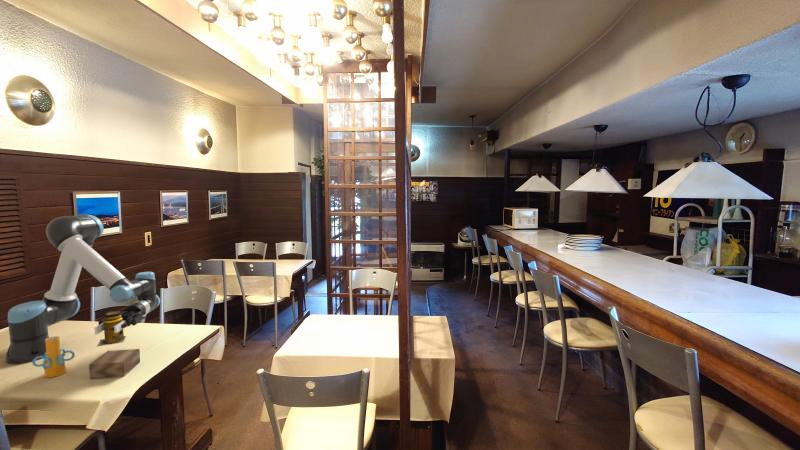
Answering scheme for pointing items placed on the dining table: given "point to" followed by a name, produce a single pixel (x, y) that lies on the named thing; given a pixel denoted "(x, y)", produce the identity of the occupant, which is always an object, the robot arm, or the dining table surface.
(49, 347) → the cylinder
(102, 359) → the riser
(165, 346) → the dining table surface
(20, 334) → the robot arm
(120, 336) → the condiment
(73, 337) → the dining table surface
